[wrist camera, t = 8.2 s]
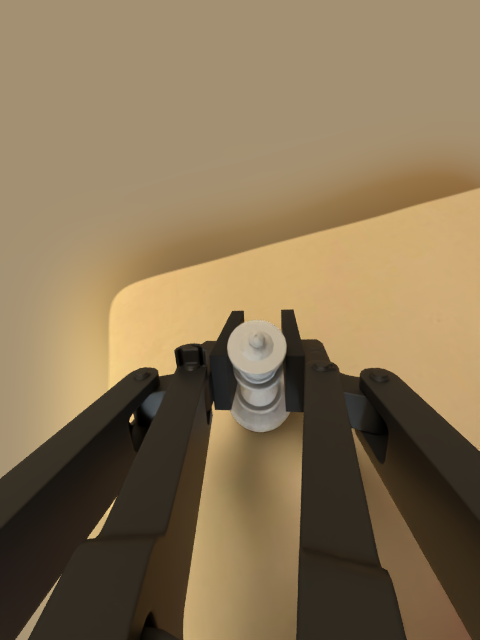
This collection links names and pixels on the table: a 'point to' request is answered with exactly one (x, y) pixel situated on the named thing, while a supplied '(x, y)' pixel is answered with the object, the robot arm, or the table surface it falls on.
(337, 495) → the robot arm
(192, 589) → the table surface
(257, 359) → the chess piece
